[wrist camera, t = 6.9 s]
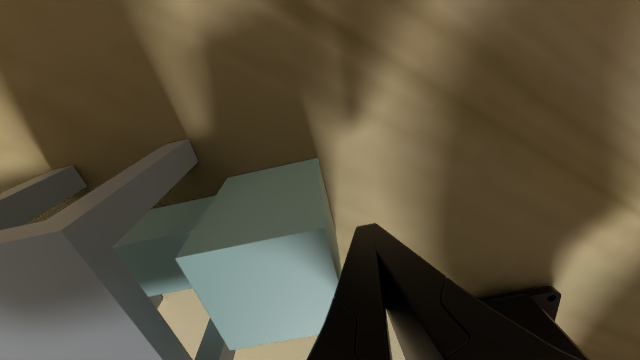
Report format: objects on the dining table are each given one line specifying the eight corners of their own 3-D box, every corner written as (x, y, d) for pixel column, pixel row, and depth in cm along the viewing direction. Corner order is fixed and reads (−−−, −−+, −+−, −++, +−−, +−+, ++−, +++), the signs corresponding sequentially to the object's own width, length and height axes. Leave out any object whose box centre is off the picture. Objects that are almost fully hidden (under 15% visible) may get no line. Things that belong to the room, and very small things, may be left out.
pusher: (335, 232, 13) (350, 328, 8) (39, 292, 14) (-90, 408, 9) (317, 157, 11) (324, 228, 7) (-19, 231, 12) (-211, 337, 8)
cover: (252, 281, 14) (216, 427, 9) (145, 302, 14) (45, 455, 9) (188, 138, 11) (61, 230, 5) (50, 170, 11) (-208, 287, 6)
